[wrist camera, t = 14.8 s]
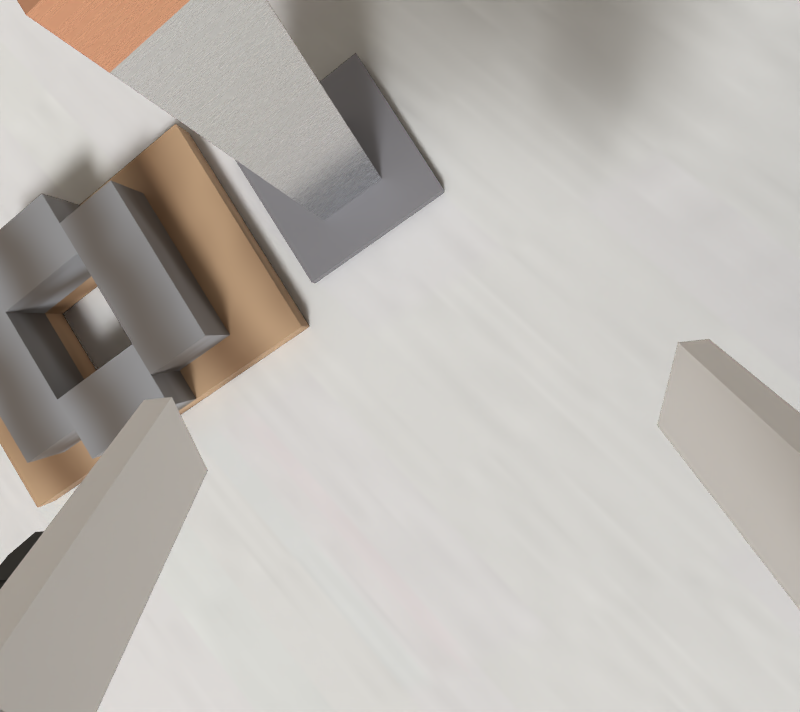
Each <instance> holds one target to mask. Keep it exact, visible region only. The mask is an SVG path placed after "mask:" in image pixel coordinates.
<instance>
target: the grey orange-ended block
mask: <svg viewBox="0 0 800 712" xmlns="http://www.w3.org/2000/svg"><path fill="white" fill-rule="evenodd" d="M17 1H18V3H19V4H20V6H21V7H22V9H23V11H24V12H25V14H26V15H27V16H28V17H30V18H31V19H33V20H34V21H36V22H37V23H39V24H40V25H41V26H43V27H44V28H46V29H47V30H49V31H50V32H52V33H53V34H54V35H56V36H57V37H59V38H60V39H62V40H63V41H65V42H66V43H67V44H69V45H70V46H72V47H73V48H75V49H76V50H78V51H79V52H81V53H82V54H83V55H85V56H86V57H88V58H89V59H91V60H92V61H94V62H95V63H96V64H98V65H99V66H101V67H102V68H104V69H105V70H107V71H108V72H109V73H111V74H112V75H114V76H115V77H117V78H118V79H120V80H121V81H122V82H124V83H125V84H127V85H128V86H130V87H131V88H133V89H134V90H135V91H137V92H138V93H140V94H141V95H143V96H144V97H146V98H147V99H148V100H150V101H151V102H153V103H154V104H156V105H157V106H159V107H160V108H161V109H163V110H164V111H166V112H167V113H169V114H170V115H172V116H173V117H174V118H176V119H177V120H179V121H180V122H182V123H183V124H185V125H186V126H187V127H189V128H190V129H192V130H193V131H195V132H196V133H198V134H199V135H200V136H202V137H203V138H205V139H206V140H208V141H209V142H211V143H212V144H213V145H215V146H216V147H218V148H219V149H221V150H222V151H224V152H225V153H226V154H228V155H229V156H231V157H232V158H234V159H235V160H237V161H238V162H239V163H241V164H242V165H244V166H245V167H247V168H248V169H250V170H251V171H252V172H254V173H255V174H257V175H258V176H260V177H261V178H263V179H264V180H265V181H267V182H268V183H270V184H271V185H273V186H274V187H276V188H277V189H278V190H280V191H281V192H283V193H284V194H286V195H287V196H289V197H290V198H291V199H293V200H294V201H296V202H297V203H299V204H300V205H302V206H303V207H304V208H306V209H307V210H309V211H310V212H312V213H313V214H315V215H316V216H317V217H319V218H320V219H322V220H323V221H325V220H326V219H327V218H329V217H330V216H332V215H333V214H334V213H336V212H337V211H338V210H340V209H341V208H342V207H344V206H345V205H347V204H348V203H349V202H351V201H352V200H353V199H355V198H356V197H358V196H359V195H360V194H362V193H363V192H364V191H366V190H367V189H368V188H370V187H371V186H373V185H374V184H375V183H377V182H378V181H379V180H381V177H380V175H379V174H378V172H377V171H376V169H375V168H374V166H373V164H372V163H371V161H370V160H369V158H368V157H367V155H366V154H365V152H364V150H363V149H362V147H361V146H360V144H359V143H358V141H357V139H356V138H355V136H354V135H353V133H352V132H351V130H350V128H349V127H348V125H347V124H346V122H345V121H344V119H343V118H342V116H341V114H340V113H339V111H338V110H337V108H336V107H335V105H334V104H333V102H332V100H331V99H330V97H329V96H328V94H327V93H326V91H325V90H324V88H323V87H322V85H321V83H320V82H319V80H318V79H317V77H316V76H315V74H314V73H313V71H312V69H311V68H310V66H309V65H308V63H307V62H306V60H305V59H304V57H303V55H302V54H301V52H300V51H299V49H298V48H297V46H296V45H295V43H294V42H293V40H292V38H291V37H290V35H289V34H288V32H287V31H286V29H285V28H284V26H283V24H282V23H281V21H280V20H279V18H278V17H277V15H276V14H275V12H274V10H273V9H272V7H271V6H270V4H269V3H268V1H267V0H17Z"/></svg>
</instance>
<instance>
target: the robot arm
mask: <svg viewBox="0 0 800 712" xmlns="http://www.w3.org/2000/svg"><path fill="white" fill-rule="evenodd" d="M657 426H658V427H659V429H660V430H661V431H662V432H663V434H664V435H665V436H666V438H667V439H668V440H669V441H670V443H671V444H672V445H673V447H674V448H675V449H676V451H677V452H678V453H679V454H680V456H681V457H682V458H683V460H684V461H685V462H686V464H687V465H688V466H689V467H690V469H691V470H692V471H693V473H694V474H695V475H696V476H697V478H698V479H699V480H700V482H701V483H702V484H703V486H704V487H705V488H706V489H707V491H708V492H709V493H710V495H711V496H712V497H713V498H714V500H715V501H716V502H717V504H718V505H719V506H720V508H721V509H722V510H723V511H724V513H725V514H726V515H727V517H728V518H729V519H730V521H731V522H732V523H733V524H734V526H735V527H736V528H737V530H738V531H739V532H740V533H741V535H742V536H743V537H744V539H745V540H746V541H747V543H748V544H749V545H750V546H751V548H752V549H753V550H754V552H755V553H756V554H757V556H758V557H759V558H760V559H761V561H762V562H763V563H764V565H765V566H766V567H767V568H768V570H769V571H770V572H771V574H772V575H773V576H774V578H775V579H776V580H777V581H778V583H779V584H780V585H781V587H782V588H783V589H784V590H785V592H786V593H787V594H788V596H789V597H790V598H791V600H792V601H793V602H794V603H795V605H796V606H797V607H798V609H799V610H800V413H799V412H798V411H797V410H795V409H794V408H793V407H792V406H791V405H789V404H788V403H787V402H786V401H784V400H783V399H782V398H781V397H780V396H778V395H777V394H776V393H775V392H773V391H772V390H771V389H770V388H768V387H767V386H766V385H765V384H764V383H762V382H761V381H760V380H759V379H757V378H756V377H755V376H754V375H753V374H751V373H750V372H749V371H748V370H746V369H745V368H744V367H743V366H742V365H740V364H739V363H738V362H737V361H735V360H734V359H733V358H732V357H730V356H729V355H728V354H727V353H726V352H724V351H723V350H722V349H721V348H719V347H718V346H717V345H716V344H715V343H713V342H712V341H711V340H710V339H705V340H696V341H687V342H678V344H677V348H676V352H675V356H674V360H673V364H672V368H671V372H670V376H669V380H668V384H667V388H666V392H665V396H664V400H663V404H662V408H661V412H660V416H659V420H658V424H657ZM207 471H208V470H207V468H206V466H205V464H204V462H203V460H202V458H201V456H200V454H199V452H198V450H197V447H196V445H195V443H194V441H193V439H192V437H191V435H190V433H189V431H188V429H187V427H186V425H185V423H184V421H183V419H182V417H181V415H180V413H179V411H178V409H177V406H176V404H175V402H174V400H173V398H172V397H168V398H158V399H149V400H144V401H143V402H142V403H141V404H140V406H139V407H138V408H137V410H136V411H135V412H134V414H133V415H132V416H131V418H130V419H129V420H128V422H127V423H126V424H125V426H124V427H123V428H122V429H121V431H120V432H119V433H118V435H117V436H116V437H115V439H114V440H113V441H112V443H111V444H110V445H109V447H108V448H107V449H106V451H105V452H104V453H103V455H102V456H101V457H100V458H99V460H98V461H97V462H96V464H95V465H94V466H93V468H92V469H91V470H90V472H89V473H88V474H87V476H86V477H85V478H84V480H83V481H82V482H81V483H80V485H79V486H78V487H77V489H76V490H75V491H74V493H73V494H72V495H71V497H70V498H69V499H68V501H67V502H66V503H65V505H64V506H63V507H62V509H61V510H60V511H59V512H58V514H57V515H56V516H55V518H54V519H53V520H52V522H51V523H50V524H49V526H48V527H47V528H46V530H45V531H43V532H35V533H34V534H33V535H31V536H30V537H29V538H28V539H27V540H26V541H24V542H23V543H22V544H21V545H20V546H19V547H17V548H16V549H15V550H14V551H13V552H12V553H10V554H9V555H8V556H7V557H6V559H5V560H4V561H3V562H2V564H1V565H0V712H97V710H98V708H99V705H100V703H101V701H102V699H103V697H104V695H105V692H106V690H107V688H108V686H109V684H110V682H111V679H112V677H113V675H114V673H115V671H116V668H117V666H118V664H119V662H120V660H121V658H122V655H123V653H124V651H125V649H126V647H127V645H128V642H129V640H130V638H131V636H132V634H133V632H134V629H135V627H136V625H137V623H138V621H139V619H140V616H141V614H142V612H143V610H144V608H145V606H146V603H147V601H148V599H149V597H150V595H151V593H152V590H153V588H154V586H155V584H156V582H157V579H158V577H159V575H160V573H161V571H162V569H163V566H164V564H165V562H166V560H167V558H168V556H169V553H170V551H171V549H172V547H173V545H174V543H175V540H176V538H177V536H178V534H179V532H180V530H181V527H182V525H183V523H184V521H185V519H186V517H187V514H188V512H189V510H190V508H191V506H192V504H193V501H194V499H195V497H196V495H197V493H198V490H199V488H200V486H201V484H202V482H203V480H204V477H205V475H206V473H207Z"/></svg>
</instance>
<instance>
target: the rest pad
mask: <svg viewBox="0 0 800 712" xmlns="http://www.w3.org/2000/svg"><path fill="white" fill-rule="evenodd" d="M320 83H321V85H322V87H323V88H324V90H325V91H326V93H327V94H328V96H329V97H330V99H331V100H332V102H333V104H334V105H335V107H336V108H337V110H338V111H339V113H340V114H341V116H342V118H343V119H344V121H345V122H346V124H347V125H348V127H349V128H350V130H351V132H352V133H353V135H354V136H355V138H356V139H357V141H358V143H359V144H360V146H361V147H362V149H363V150H364V152H365V154H366V155H367V157H368V158H369V160H370V161H371V163H372V164H373V166H374V168H375V169H376V171H377V172H378V174H379V175H380V177H381V180H379V181H378V182H377V183H375V184H374V185H373V186H371V187H370V188H368V189H367V190H366V191H364V192H363V193H362V194H360V195H359V196H358V197H356V198H355V199H353V200H352V201H351V202H349V203H348V204H347V205H345V206H344V207H342V208H341V209H340V210H338V211H337V212H336V213H334V214H333V215H332V216H330V217H329V218H327V219H326V220H325V221H323V220H322V219H320V218H319V217H317V216H316V215H315V214H313V213H312V212H310V211H309V210H307V209H306V208H304V207H303V206H302V205H300V204H299V203H297V202H296V201H294V200H293V199H291V198H290V197H289V196H287V195H286V194H284V193H283V192H281V191H280V190H278V189H277V188H276V187H274V186H273V185H271V184H270V183H268V182H267V181H265V180H264V179H263V178H261V177H260V176H258V175H257V174H255V173H254V172H252V171H251V170H250V169H248V168H247V167H245V166H244V165H242V164H241V163H239V162H238V161H237V160H236V162H237V163H238V165H239V167H240V168H241V170H242V171H243V173H244V175H245V176H246V178H247V179H248V181H249V183H250V184H251V186H252V187H253V189H254V191H255V192H256V194H257V195H258V197H259V199H260V200H261V202H262V203H263V205H264V207H265V208H266V210H267V211H268V213H269V215H270V216H271V218H272V219H273V221H274V223H275V224H276V226H277V227H278V229H279V231H280V232H281V234H282V235H283V237H284V239H285V240H286V242H287V243H288V245H289V247H290V248H291V250H292V251H293V253H294V255H295V256H296V258H297V259H298V261H299V263H300V264H301V266H302V267H303V269H304V271H305V272H306V274H307V275H308V277H309V279H310V280H311V282H313V283H316V282H318V281H319V280H321V279H322V278H323V277H325V276H326V275H328V274H329V273H331V272H332V271H333V270H335V269H336V268H338V267H339V266H341V265H342V264H343V263H345V262H346V261H348V260H349V259H350V258H352V257H353V256H355V255H356V254H358V253H359V252H360V251H362V250H363V249H365V248H366V247H368V246H369V245H370V244H372V243H373V242H375V241H376V240H377V239H379V238H380V237H382V236H383V235H385V234H386V233H387V232H389V231H390V230H392V229H393V228H395V227H396V226H397V225H399V224H400V223H402V222H403V221H405V220H406V219H407V218H409V217H410V216H412V215H413V214H414V213H416V212H417V211H419V210H420V209H422V208H423V207H424V206H426V205H427V204H429V203H430V202H432V201H433V200H434V199H436V198H437V197H439V196H440V195H441V194H443V193H444V189H443V187H442V186H441V184H440V183H439V181H438V180H437V178H436V177H435V175H434V174H433V172H432V170H431V169H430V167H429V166H428V164H427V163H426V161H425V160H424V158H423V156H422V155H421V153H420V152H419V150H418V149H417V147H416V146H415V144H414V143H413V141H412V139H411V138H410V136H409V135H408V133H407V132H406V130H405V129H404V127H403V125H402V124H401V122H400V121H399V119H398V118H397V116H396V115H395V113H394V111H393V110H392V108H391V107H390V105H389V104H388V102H387V101H386V99H385V98H384V96H383V94H382V93H381V91H380V90H379V88H378V87H377V85H376V84H375V82H374V80H373V79H372V77H371V76H370V74H369V73H368V71H367V70H366V68H365V67H364V65H363V63H362V62H361V60H360V59H359V57H358V56H357V54H356V53H355V54H354V55H353V56H351V57H350V58H349V59H348V60H346V61H345V62H344V63H343V64H341V65H340V66H339V67H338V68H336V69H335V70H334V71H333V72H331V73H330V74H329V75H328V76H326V77H325V78H324V79H323V80H322V81H320Z"/></svg>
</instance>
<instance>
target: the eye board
mask: <svg viewBox="0 0 800 712" xmlns="http://www.w3.org/2000/svg"><path fill="white" fill-rule="evenodd" d="M97 286H98V288H99V289H100V291H101V293H102V294H103V296H104V298H105V299H106V301H107V303H108V304H109V306H110V308H111V309H112V311H113V313H114V314H115V316H116V318H117V319H118V321H119V323H120V324H121V326H122V328H123V329H124V331H125V333H126V334H127V336H128V338H129V339H130V341H131V343H132V345H130V346H129V347H128V348H126V349H125V350H124V351H122V352H121V353H120V354H118V355H117V356H115V357H114V358H113V359H111V360H110V361H109V362H107V363H106V364H105V365H103V366H102V367H101V368H99V369H98V370H97V371H96V369H95V368H94V366H93V364H92V363H91V361H90V359H89V358H88V356H87V354H86V353H85V351H84V349H83V348H82V346H81V344H80V343H79V341H78V339H77V338H76V336H75V334H74V333H73V331H72V329H71V328H70V326H69V324H68V323H67V321H66V319H65V317H64V316H63V313H64V312H65V311H67V310H68V309H69V308H70V307H72V306H73V305H74V304H75V303H77V302H78V301H79V300H81V299H82V298H83V297H84V296H86V295H87V294H88V293H89V292H91V291H92V290H93V289H95V288H96V287H97ZM308 327H309V325H308V324H307V322H306V320H305V319H304V317H303V316H302V314H301V312H300V311H299V309H298V308H297V306H296V304H295V303H294V301H293V300H292V298H291V296H290V295H289V293H288V292H287V290H286V288H285V287H284V285H283V283H282V282H281V280H280V279H279V277H278V275H277V274H276V272H275V271H274V269H273V267H272V266H271V264H270V263H269V261H268V259H267V258H266V256H265V255H264V253H263V251H262V250H261V248H260V246H259V245H258V243H257V242H256V240H255V238H254V237H253V235H252V234H251V232H250V230H249V229H248V227H247V226H246V224H245V222H244V221H243V219H242V218H241V216H240V214H239V213H238V211H237V209H236V208H235V206H234V205H233V203H232V201H231V200H230V198H229V197H228V195H227V193H226V192H225V190H224V189H223V187H222V185H221V184H220V182H219V181H218V179H217V177H216V176H215V174H214V172H213V171H212V169H211V168H210V166H209V164H208V163H207V161H206V160H205V158H204V156H203V155H202V153H201V152H200V150H199V148H198V147H197V145H196V144H195V142H194V140H193V139H192V137H191V135H190V134H189V133H188V132H187V131H186V130H184V129H183V128H181V127H180V126H178V125H177V124H175V125H174V126H172V127H171V128H170V129H169V130H168V131H167V132H165V133H164V134H163V135H162V136H161V137H159V138H158V139H157V140H156V141H155V142H153V143H152V144H151V145H150V146H149V147H148V148H146V149H145V150H144V151H143V152H142V153H140V154H139V155H138V156H137V157H136V158H135V159H133V160H132V161H131V162H130V163H129V164H127V165H126V166H125V167H124V168H123V169H121V170H120V171H119V172H118V173H117V174H116V175H114V176H113V177H112V178H111V179H110V180H108V181H107V182H106V183H105V184H104V185H103V186H101V187H100V188H99V189H98V190H97V191H95V192H94V193H93V194H92V195H91V196H89V197H88V198H87V199H86V200H85V201H84V202H82V203H81V204H80V205H78V204H74V203H71V202H68V201H65V200H61V199H58V198H55V197H52V196H48V195H45V194H40V195H39V196H38V197H37V198H36V199H35V200H34V201H32V202H31V203H30V204H29V205H28V206H27V207H26V208H24V209H23V210H22V211H21V212H20V213H19V214H17V215H16V216H15V217H14V218H13V219H12V220H11V221H9V222H8V223H7V224H6V225H5V226H4V227H3V228H1V229H0V444H1V446H2V447H3V449H4V451H5V452H6V454H7V456H8V458H9V459H10V461H11V463H12V464H13V466H14V468H15V470H16V471H17V473H18V475H19V476H20V478H21V480H22V482H23V483H24V485H25V487H26V489H27V490H28V492H29V494H30V495H31V497H32V499H33V501H34V502H35V504H36V506H37V507H41V506H43V505H46V504H48V503H50V502H53V501H55V500H57V499H58V498H59V497H61V496H62V495H64V494H65V493H67V492H68V491H70V490H71V489H73V488H74V487H76V486H77V485H78V484H80V483H81V482H82V481H83V480H84V478H85V477H86V476H87V474H88V473H89V472H90V470H91V469H92V468H93V466H94V465H95V464H96V462H97V461H98V460H99V458H100V457H101V456H102V455H103V453H104V452H105V451H106V449H107V448H108V447H109V445H110V444H111V443H112V441H113V440H114V439H115V437H116V436H117V435H118V433H119V432H120V431H121V429H122V428H123V427H124V426H125V424H126V423H127V422H128V420H129V419H130V418H131V416H132V415H133V414H134V412H135V411H136V410H137V408H138V407H139V406H140V404H141V403H142V402H143V401H144V400H149V399H158V398H168V397H172V398H173V400H174V402H175V404H176V406H177V409H178V411H179V413H180V415H181V414H182V413H184V412H185V411H187V410H188V409H190V408H191V407H193V406H194V405H196V404H197V403H199V402H200V401H201V400H203V399H204V398H206V397H207V396H209V395H210V394H212V393H213V392H215V391H216V390H218V389H219V388H220V387H222V386H223V385H225V384H226V383H228V382H229V381H231V380H232V379H234V378H235V377H237V376H238V375H239V374H241V373H242V372H244V371H245V370H247V369H248V368H250V367H251V366H253V365H254V364H256V363H257V362H259V361H260V360H261V359H263V358H264V357H266V356H267V355H269V354H270V353H272V352H273V351H275V350H276V349H278V348H279V347H280V346H282V345H283V344H285V343H286V342H288V341H289V340H291V339H292V338H294V337H295V336H297V335H298V334H299V333H301V332H302V331H304V330H305V329H307V328H308Z"/></svg>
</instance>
